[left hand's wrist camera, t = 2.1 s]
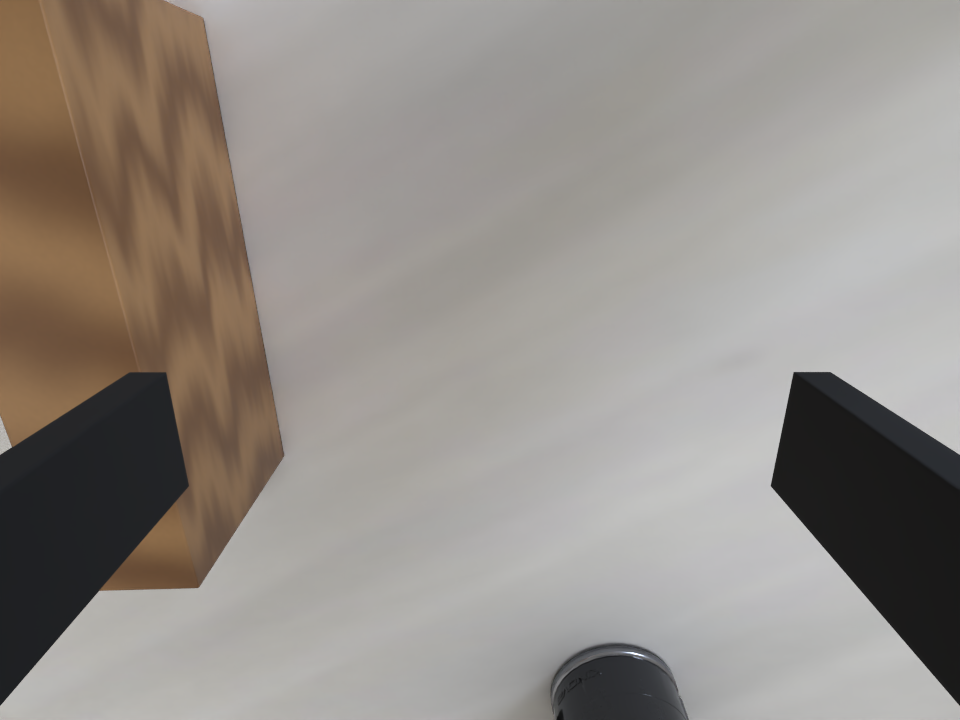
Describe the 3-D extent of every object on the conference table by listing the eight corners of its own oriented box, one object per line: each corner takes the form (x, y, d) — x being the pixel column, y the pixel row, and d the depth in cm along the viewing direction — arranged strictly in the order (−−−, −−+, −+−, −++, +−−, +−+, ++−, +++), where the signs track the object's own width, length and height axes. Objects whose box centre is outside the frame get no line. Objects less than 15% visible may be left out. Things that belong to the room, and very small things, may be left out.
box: (80, 23, 29) (-175, -52, 18) (203, 17, 28) (23, -63, 17) (190, 459, 37) (65, 592, 26) (284, 456, 37) (199, 588, 26)
